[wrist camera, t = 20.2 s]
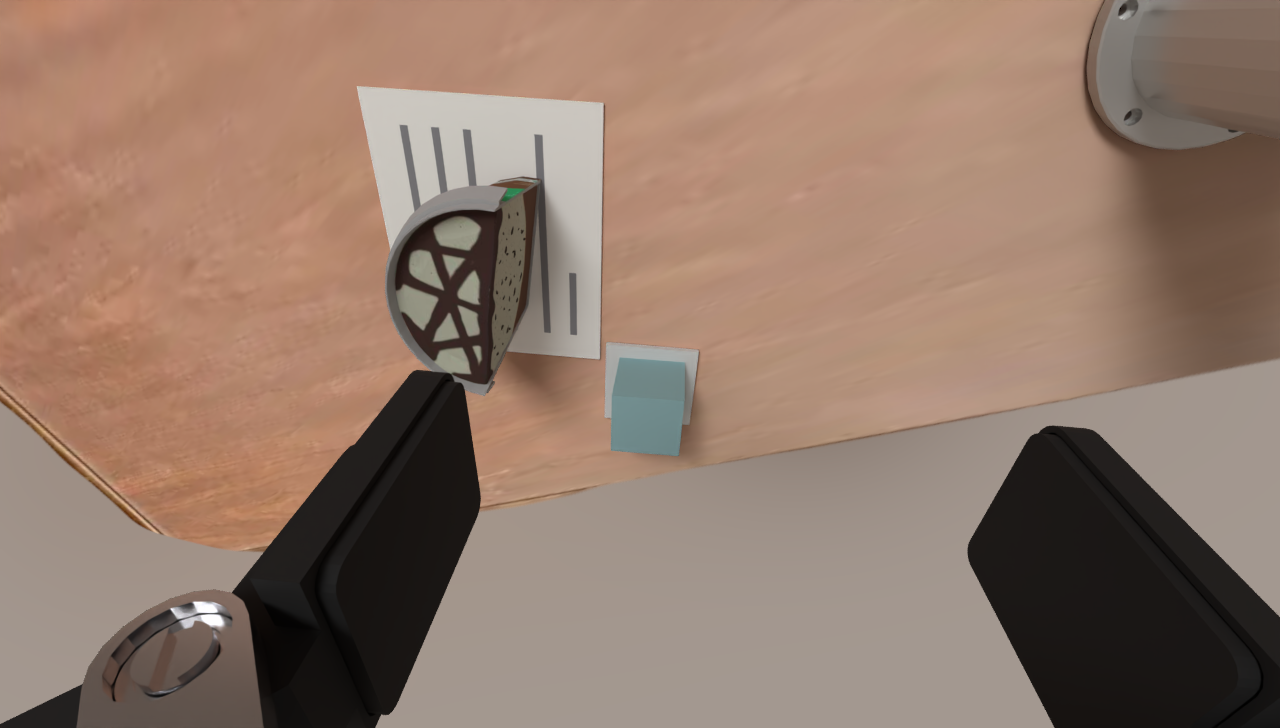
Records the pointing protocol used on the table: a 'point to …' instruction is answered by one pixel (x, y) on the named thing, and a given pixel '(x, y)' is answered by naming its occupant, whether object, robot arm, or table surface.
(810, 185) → the table surface
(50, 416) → the table surface
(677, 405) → the teal block
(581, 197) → the letter
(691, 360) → the mat
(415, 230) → the food container
